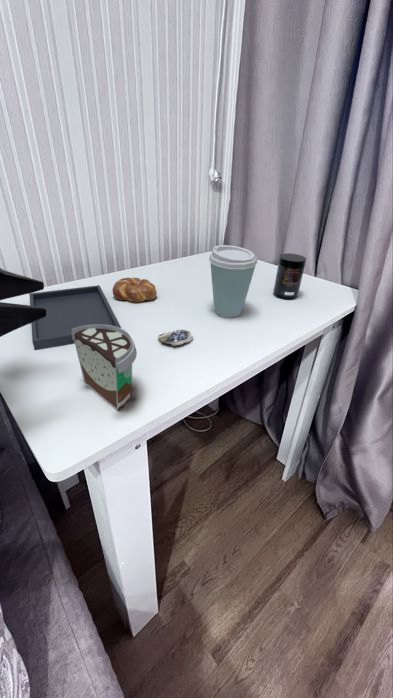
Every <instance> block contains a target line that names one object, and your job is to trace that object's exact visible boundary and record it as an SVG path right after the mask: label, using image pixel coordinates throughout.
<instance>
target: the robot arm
mask: <svg viewBox="0 0 393 698" xmlns="http://www.w3.org/2000/svg"><path fill="white" fill-rule="evenodd" d="M44 289H45V283H44V281H42V280H38V279H35V278H31V277H28V276H25V275H21V274H19V273H15V272H11V271H8V270H5V269H2V268H1V267H0V338H1V337H4V336H5V335H7V334H9V333H11V332H14V331H16V330H19V329H20V328H23V327H25V326H27V325H31V323H32V322H35V321H37V320H39V319H42V318H44V317H46V308H43V307H37V306H30V304H20V303H13V302H12V303H11V302H3V300H7V299H11V298H16V297H19V296H24V295H28V294H29V293H37V292H41V291H44Z"/></svg>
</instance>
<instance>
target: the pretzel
mask: <svg viewBox="0 0 393 698" xmlns="http://www.w3.org/2000/svg"><path fill="white" fill-rule="evenodd" d="M157 294H158V292H157V290H156V285H155V284H154V283H152V282H151V281H150V280H148V279H146V278H142V279H141V278H139V277H122V278H120V279H118V280H117V281H116V282H115V283H114V284H113V286H112V295H113V296H114V298H116V299H117V300H119V301H129V302H135V303H141V302H142V303H143V302H144V301H145V302H146V301H153V300H154V299H155V298H156V297H157V296H158V295H157Z"/></svg>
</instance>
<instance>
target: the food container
mask: <svg viewBox="0 0 393 698" xmlns="http://www.w3.org/2000/svg"><path fill="white" fill-rule="evenodd" d="M73 339H74V342H75V343H74V345H75V350H76V354H77V358H78V363H79V366H80V370H81V375H82V380H83V383H84V384H85V386H87V387H88V388H89V389H90V390H92V392H93V393H95V394H96V395H98V396H99V397H100V398H101V399H102V400H104V401H105V402H106V403H107V404H108V405H109V406H111V407H112V408H113V409H114V410H115V411H117V412H119V411H121V410H123V409H124V408H125V407H126V406H127V404H128V403H129V402H130V400H131V398H132V395H133V394H132V390H133V389H132V388H133V364H134V362H135V361H136V358H137V355H138V351H137V347H136V344H135V342H134V340H133V338H132V336H131V335H130V333H129V332H128V331H126V330H125V329H123V328H122V327H121V328H118V327H115V326H111V325H101V324H97V325H86V326H81V327H77V328H73V329H72V340H73Z"/></svg>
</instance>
